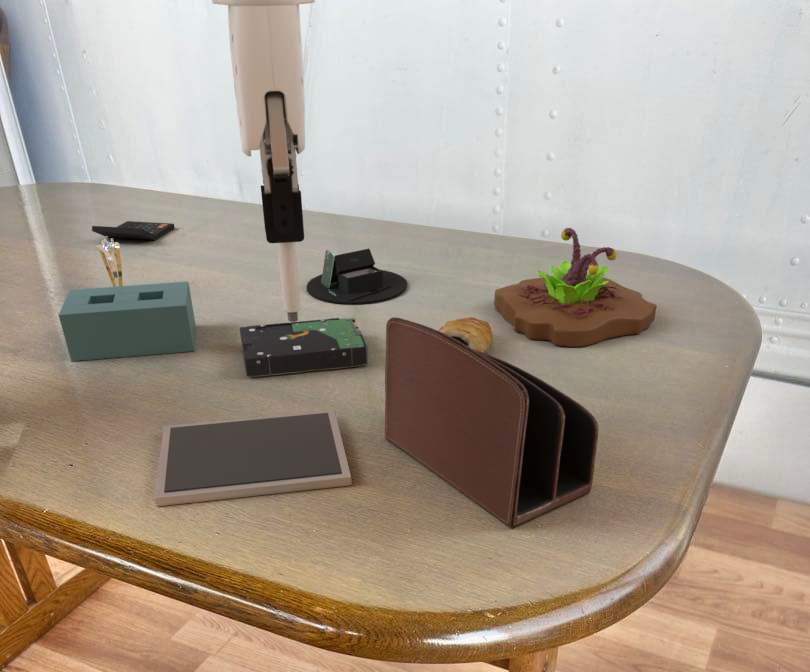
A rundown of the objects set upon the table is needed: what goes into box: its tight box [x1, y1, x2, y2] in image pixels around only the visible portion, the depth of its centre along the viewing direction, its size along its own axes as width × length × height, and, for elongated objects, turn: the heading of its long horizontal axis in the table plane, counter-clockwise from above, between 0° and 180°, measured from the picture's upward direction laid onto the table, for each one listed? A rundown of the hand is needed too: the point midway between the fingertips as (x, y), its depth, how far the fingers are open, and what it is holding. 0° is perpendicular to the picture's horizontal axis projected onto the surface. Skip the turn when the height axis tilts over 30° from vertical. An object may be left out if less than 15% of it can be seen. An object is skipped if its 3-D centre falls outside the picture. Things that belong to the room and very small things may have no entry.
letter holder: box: [384, 317, 600, 530], centre depth 75 cm, size 10×20×14 cm, turn 35°
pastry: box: [437, 316, 493, 354], centre depth 101 cm, size 9×7×4 cm
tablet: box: [154, 409, 353, 507], centre depth 81 cm, size 18×14×1 cm
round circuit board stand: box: [306, 248, 408, 306], centre depth 120 cm, size 15×15×6 cm
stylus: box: [276, 242, 302, 323], centre depth 71 cm, size 2×2×13 cm
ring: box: [95, 238, 124, 287], centre depth 117 cm, size 7×3×8 cm, turn 24°
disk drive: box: [239, 317, 369, 378], centre depth 100 cm, size 10×3×15 cm
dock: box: [58, 281, 197, 362], centre depth 103 cm, size 9×15×6 cm, turn 100°
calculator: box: [91, 220, 176, 241], centre depth 143 cm, size 9×12×3 cm
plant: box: [493, 227, 657, 348], centre depth 108 cm, size 20×20×11 cm
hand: (284, 236), depth 70 cm, fingers closed on stylus, 1 cm apart
